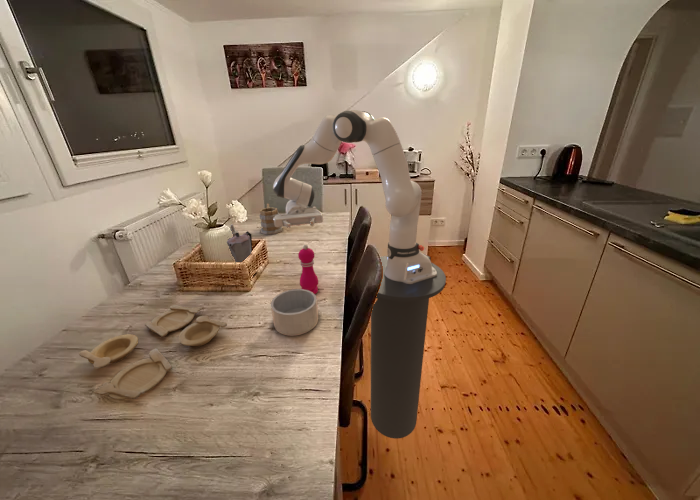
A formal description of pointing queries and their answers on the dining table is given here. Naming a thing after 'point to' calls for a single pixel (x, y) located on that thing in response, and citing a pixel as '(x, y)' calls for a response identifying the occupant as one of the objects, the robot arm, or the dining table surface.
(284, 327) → the round grey bowl
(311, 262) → the pepper mill
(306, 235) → the dining table surface
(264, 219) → the tankard
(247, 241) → the moka pot
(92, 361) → the tableware set
